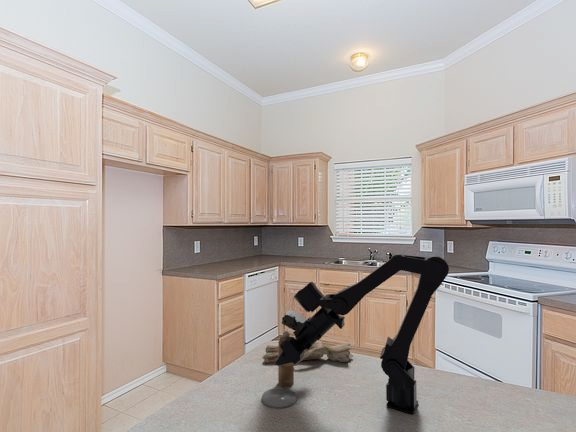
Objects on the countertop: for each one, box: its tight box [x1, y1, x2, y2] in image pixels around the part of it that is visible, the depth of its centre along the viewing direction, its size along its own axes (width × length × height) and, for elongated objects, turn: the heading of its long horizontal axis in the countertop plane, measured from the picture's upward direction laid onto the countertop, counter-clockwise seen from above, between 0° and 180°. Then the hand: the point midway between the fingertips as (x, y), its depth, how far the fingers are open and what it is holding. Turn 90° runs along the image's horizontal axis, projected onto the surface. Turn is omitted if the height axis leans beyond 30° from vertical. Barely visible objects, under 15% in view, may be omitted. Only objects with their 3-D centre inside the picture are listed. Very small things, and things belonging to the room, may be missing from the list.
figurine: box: [263, 340, 354, 367], centre depth 112 cm, size 17×6×30 cm
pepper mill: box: [277, 330, 295, 388], centre depth 95 cm, size 4×4×15 cm
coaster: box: [261, 387, 297, 409], centre depth 86 cm, size 9×9×1 cm
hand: (281, 359), depth 95 cm, fingers open, 7 cm apart
